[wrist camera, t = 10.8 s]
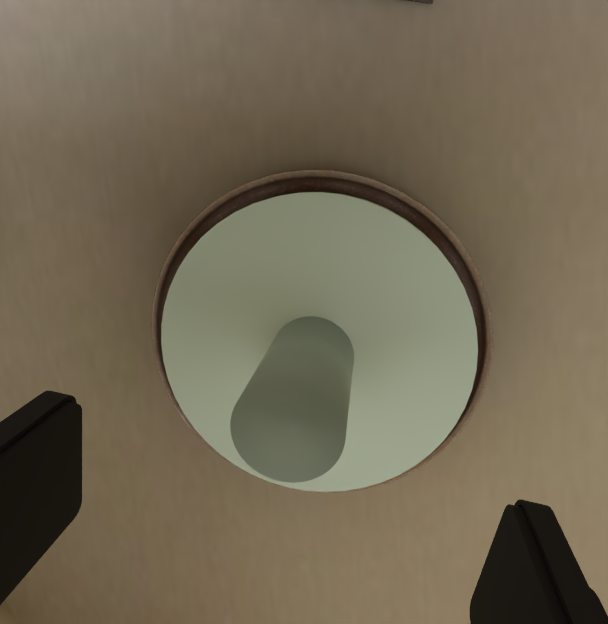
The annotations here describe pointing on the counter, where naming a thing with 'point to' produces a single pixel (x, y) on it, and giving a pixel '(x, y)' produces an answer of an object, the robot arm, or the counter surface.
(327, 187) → the saucer
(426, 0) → the mat
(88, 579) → the counter surface
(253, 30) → the counter surface
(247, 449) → the lid
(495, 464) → the counter surface
